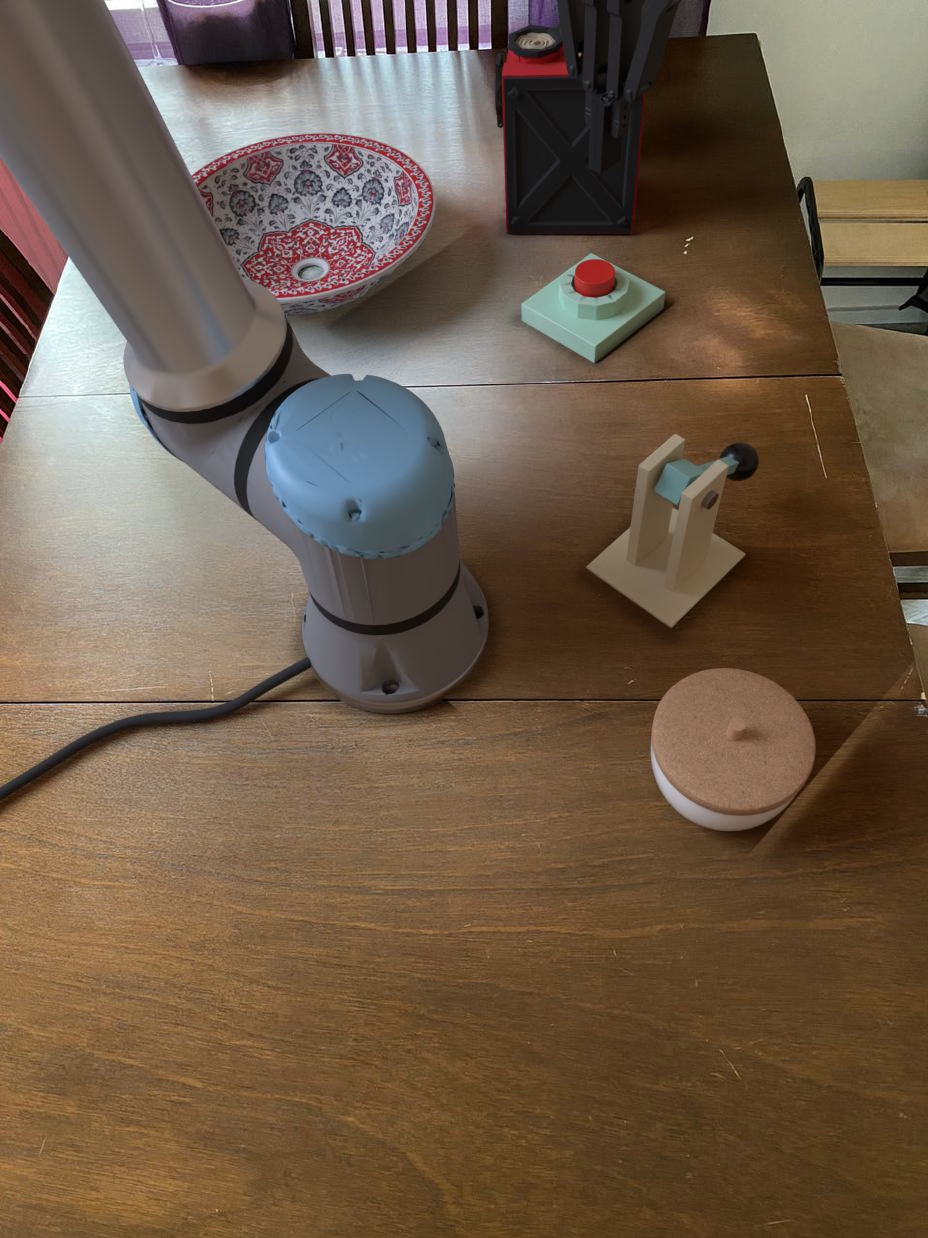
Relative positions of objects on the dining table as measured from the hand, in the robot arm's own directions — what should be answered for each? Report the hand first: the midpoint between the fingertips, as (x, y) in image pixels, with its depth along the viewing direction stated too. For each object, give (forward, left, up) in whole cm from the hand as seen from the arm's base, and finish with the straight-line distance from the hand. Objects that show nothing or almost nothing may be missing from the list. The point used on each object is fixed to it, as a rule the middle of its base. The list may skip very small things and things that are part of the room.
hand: (604, 163), depth 87 cm
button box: (0, 0, -17) cm, 17 cm away
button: (0, 0, -13) cm, 13 cm away
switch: (-18, -26, -9) cm, 33 cm away
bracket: (-21, -26, -17) cm, 37 cm away
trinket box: (-34, -41, -17) cm, 56 cm away
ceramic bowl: (-15, +28, -17) cm, 36 cm away
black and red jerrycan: (+12, +14, -17) cm, 25 cm away
